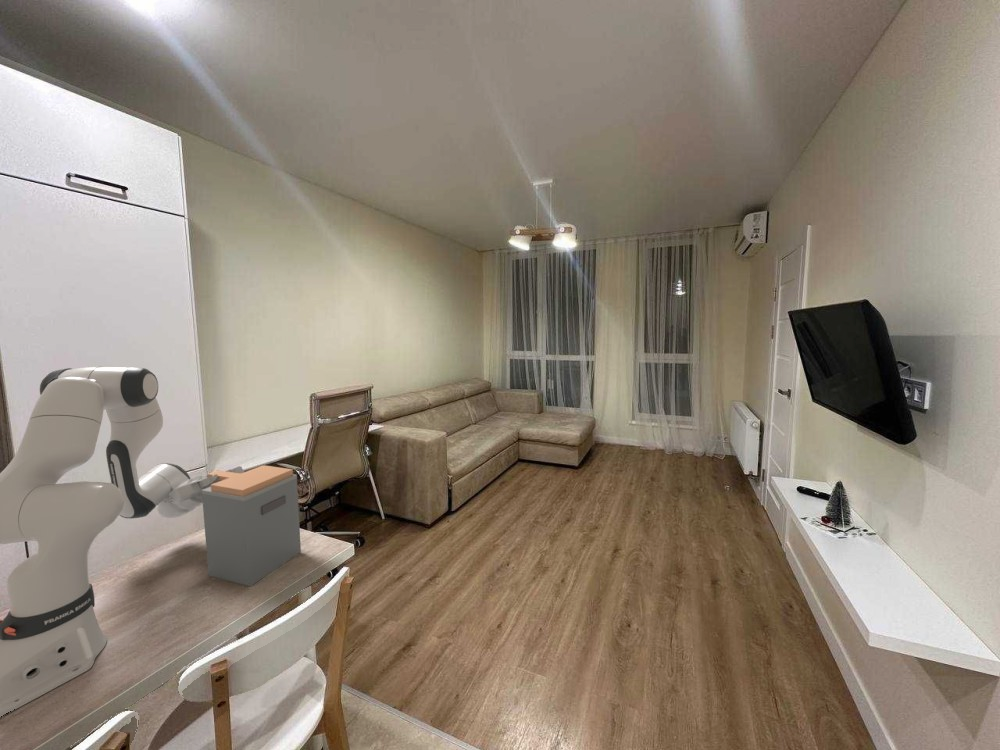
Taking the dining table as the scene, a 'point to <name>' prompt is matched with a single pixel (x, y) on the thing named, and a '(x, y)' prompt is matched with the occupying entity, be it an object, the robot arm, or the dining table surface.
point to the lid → (248, 480)
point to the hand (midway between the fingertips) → (223, 474)
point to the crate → (251, 531)
